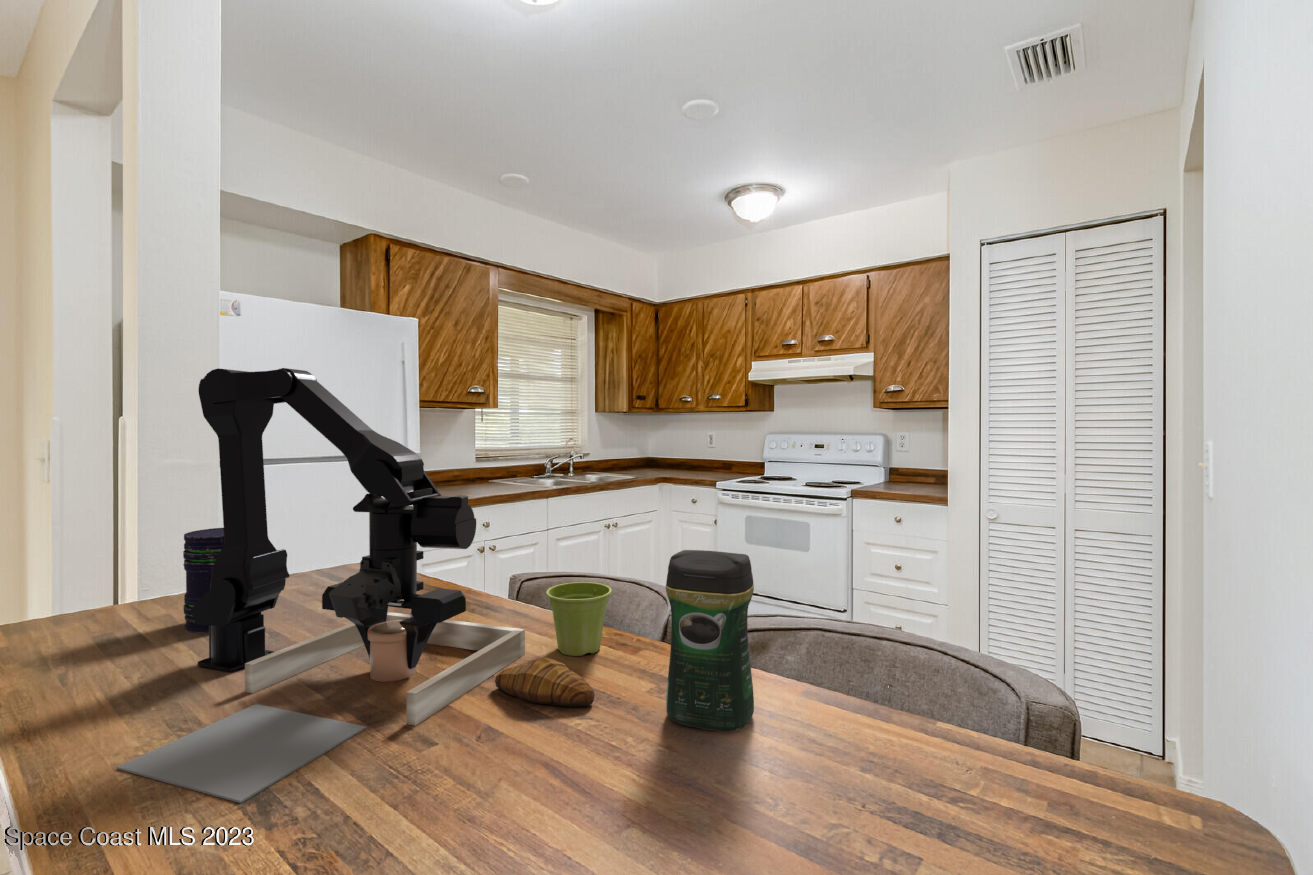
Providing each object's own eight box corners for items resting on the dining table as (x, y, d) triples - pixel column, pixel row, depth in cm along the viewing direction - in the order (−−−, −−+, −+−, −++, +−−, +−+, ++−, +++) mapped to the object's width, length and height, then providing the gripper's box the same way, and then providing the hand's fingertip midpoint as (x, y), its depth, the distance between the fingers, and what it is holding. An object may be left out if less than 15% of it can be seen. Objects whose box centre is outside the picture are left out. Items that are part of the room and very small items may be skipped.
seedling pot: (356, 678, 79) (356, 631, 79) (391, 661, 85) (391, 617, 85) (395, 685, 77) (395, 637, 77) (429, 667, 83) (429, 622, 83)
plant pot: (600, 664, 85) (601, 600, 85) (536, 658, 87) (536, 596, 86) (618, 640, 94) (618, 583, 94) (559, 636, 96) (559, 580, 96)
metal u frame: (245, 692, 75) (244, 663, 75) (382, 633, 96) (382, 611, 96) (415, 725, 67) (415, 693, 67) (524, 653, 88) (525, 629, 88)
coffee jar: (759, 709, 71) (761, 548, 71) (743, 741, 64) (744, 562, 64) (680, 695, 75) (681, 542, 75) (656, 724, 68) (657, 554, 67)
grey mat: (116, 768, 58) (116, 766, 58) (256, 705, 72) (256, 703, 72) (240, 803, 53) (240, 801, 53) (366, 728, 66) (366, 726, 66)
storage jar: (172, 626, 100) (171, 533, 99) (239, 610, 108) (239, 525, 108) (201, 637, 94) (200, 539, 94) (269, 620, 103) (268, 530, 102)
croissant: (478, 700, 74) (478, 658, 74) (513, 678, 80) (513, 640, 80) (577, 722, 68) (577, 677, 68) (606, 697, 75) (606, 656, 75)
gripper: (284, 553, 76) (285, 678, 77) (408, 564, 70) (408, 701, 71) (355, 537, 87) (355, 648, 87) (468, 546, 81) (468, 665, 81)
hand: (393, 665), depth 81 cm, fingers closed on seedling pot, 6 cm apart
